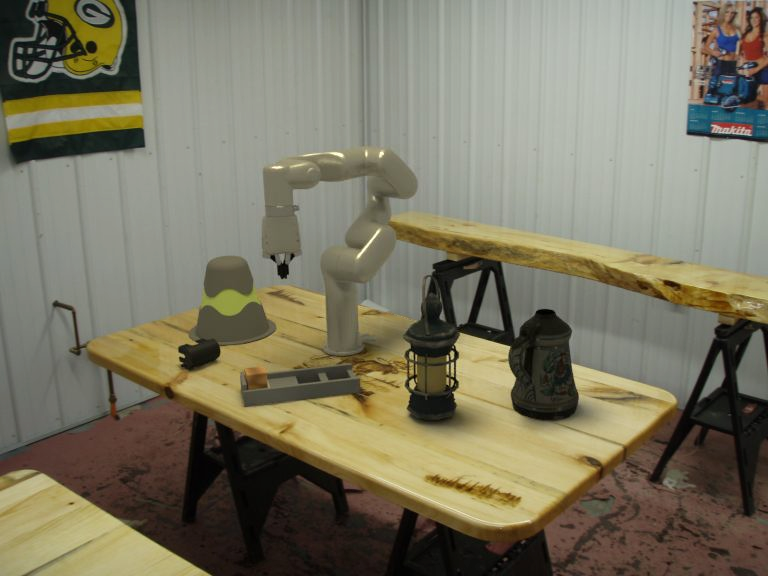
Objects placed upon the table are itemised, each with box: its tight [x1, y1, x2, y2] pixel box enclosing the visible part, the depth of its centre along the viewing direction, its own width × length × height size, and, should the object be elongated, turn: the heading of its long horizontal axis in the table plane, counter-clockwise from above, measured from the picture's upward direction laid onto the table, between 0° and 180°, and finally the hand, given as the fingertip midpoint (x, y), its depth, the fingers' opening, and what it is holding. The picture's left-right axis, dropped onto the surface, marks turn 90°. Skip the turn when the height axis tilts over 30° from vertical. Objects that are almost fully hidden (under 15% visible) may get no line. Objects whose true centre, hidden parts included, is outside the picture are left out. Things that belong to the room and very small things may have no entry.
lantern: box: [402, 274, 461, 421], centre depth 186 cm, size 14×13×35 cm
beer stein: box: [507, 308, 580, 421], centre depth 189 cm, size 16×19×25 cm
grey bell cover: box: [188, 255, 277, 346], centre depth 250 cm, size 28×28×24 cm
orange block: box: [243, 365, 268, 390], centre depth 201 cm, size 5×5×5 cm
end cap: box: [177, 338, 222, 370], centre depth 225 cm, size 10×7×7 cm
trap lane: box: [239, 362, 361, 408], centre depth 205 cm, size 30×11×6 cm, turn 104°
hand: (283, 277), depth 212 cm, fingers closed
